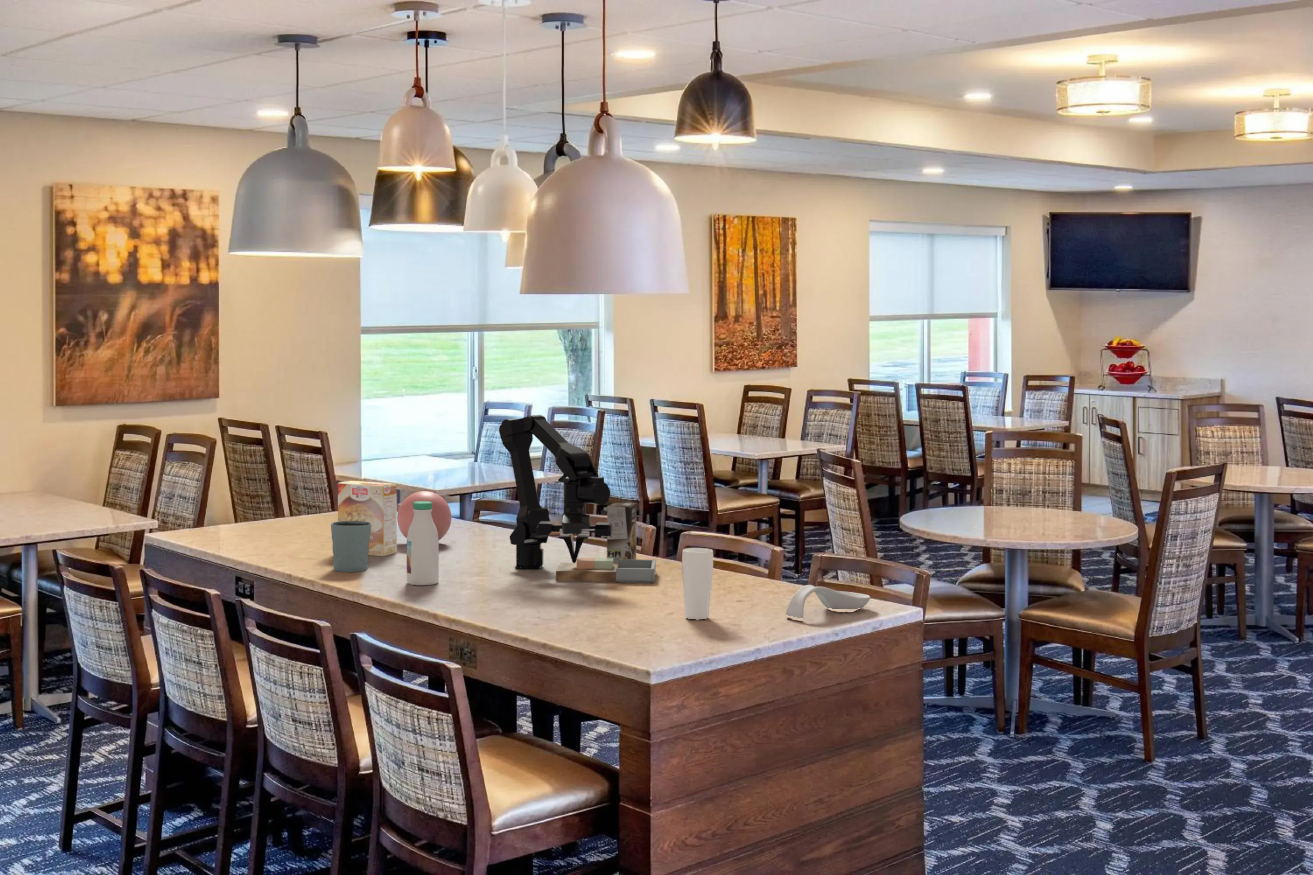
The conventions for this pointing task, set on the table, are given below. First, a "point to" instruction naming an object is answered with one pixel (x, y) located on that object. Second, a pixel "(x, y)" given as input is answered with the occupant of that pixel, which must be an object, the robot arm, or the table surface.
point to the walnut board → (585, 573)
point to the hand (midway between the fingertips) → (574, 562)
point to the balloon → (438, 513)
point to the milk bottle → (422, 547)
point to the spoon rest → (825, 599)
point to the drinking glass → (697, 581)
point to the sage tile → (603, 563)
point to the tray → (636, 571)
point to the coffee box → (622, 531)
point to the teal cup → (350, 545)
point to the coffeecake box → (371, 512)
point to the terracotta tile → (586, 563)
